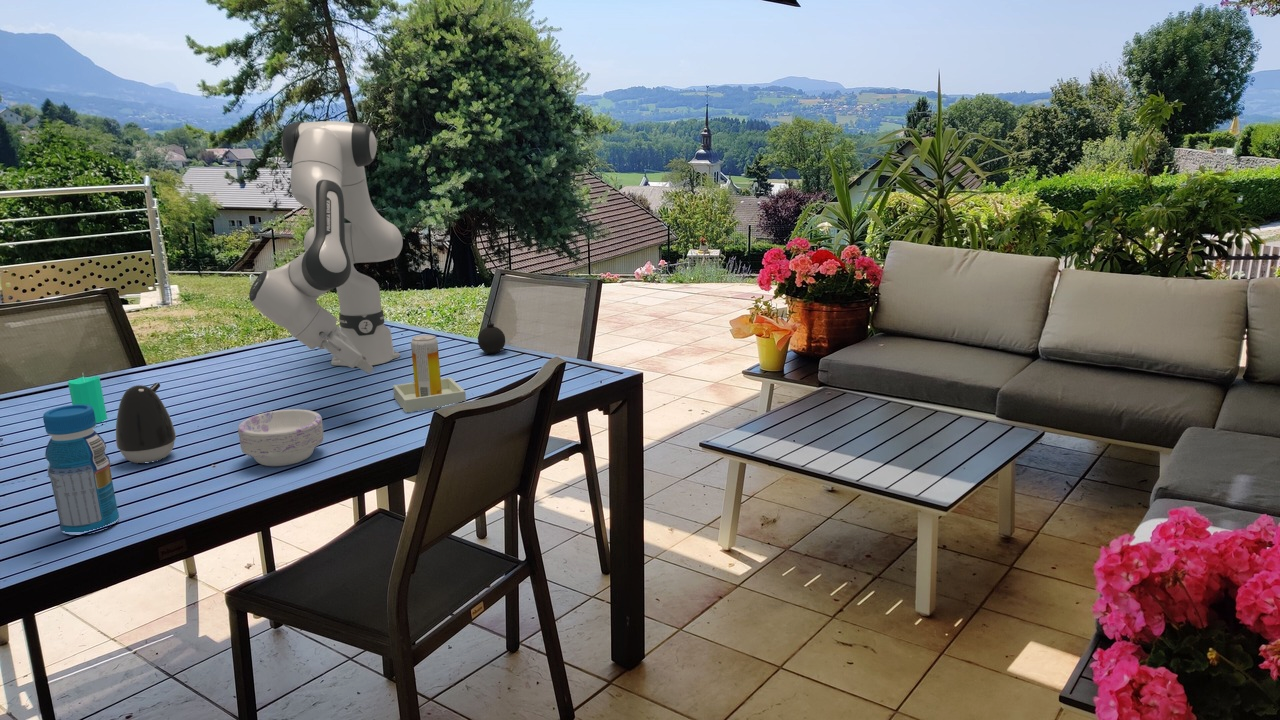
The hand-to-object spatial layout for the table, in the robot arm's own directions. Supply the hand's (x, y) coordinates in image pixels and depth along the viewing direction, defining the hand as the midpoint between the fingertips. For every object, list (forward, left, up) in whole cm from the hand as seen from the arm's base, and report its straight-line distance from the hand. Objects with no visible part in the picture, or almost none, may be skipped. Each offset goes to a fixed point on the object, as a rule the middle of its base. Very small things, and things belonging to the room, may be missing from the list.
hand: (367, 366), depth 195 cm
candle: (-21, -58, -11) cm, 62 cm away
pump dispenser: (+11, -45, -11) cm, 47 cm away
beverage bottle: (+42, -52, -11) cm, 67 cm away
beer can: (0, +13, -10) cm, 17 cm away
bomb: (-38, +40, -11) cm, 56 cm away
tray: (0, +13, -10) cm, 17 cm away
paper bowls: (+24, -21, -11) cm, 33 cm away
